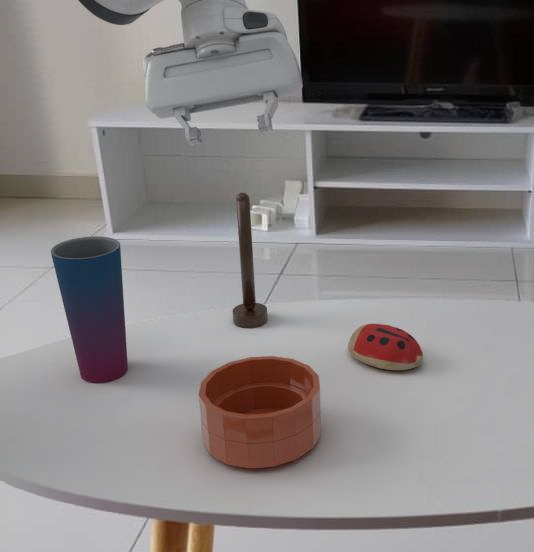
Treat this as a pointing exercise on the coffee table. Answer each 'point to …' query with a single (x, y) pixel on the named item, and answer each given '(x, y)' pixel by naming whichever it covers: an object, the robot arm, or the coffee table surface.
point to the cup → (93, 304)
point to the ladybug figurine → (385, 347)
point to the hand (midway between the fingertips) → (229, 136)
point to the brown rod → (247, 271)
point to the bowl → (260, 411)
